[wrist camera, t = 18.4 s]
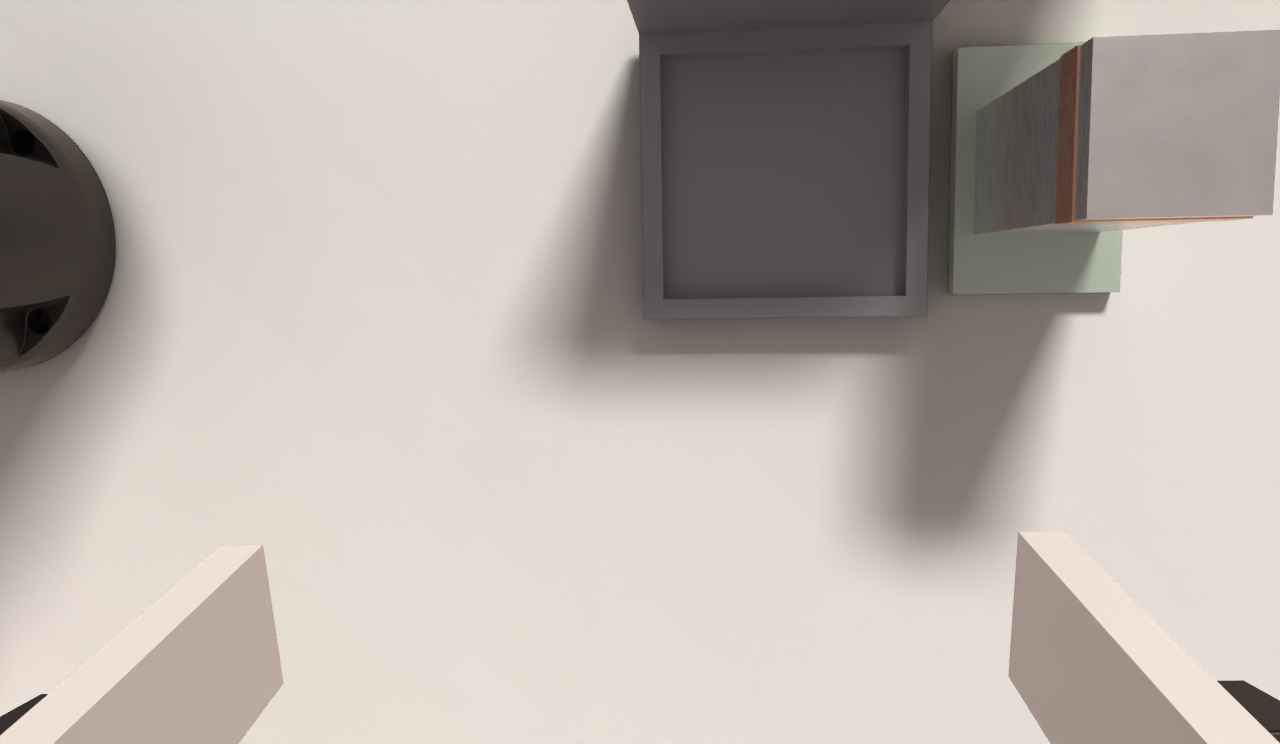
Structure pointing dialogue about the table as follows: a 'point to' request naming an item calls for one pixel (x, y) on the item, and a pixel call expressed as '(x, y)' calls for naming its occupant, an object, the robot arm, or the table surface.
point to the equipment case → (785, 157)
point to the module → (1133, 136)
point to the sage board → (974, 257)
